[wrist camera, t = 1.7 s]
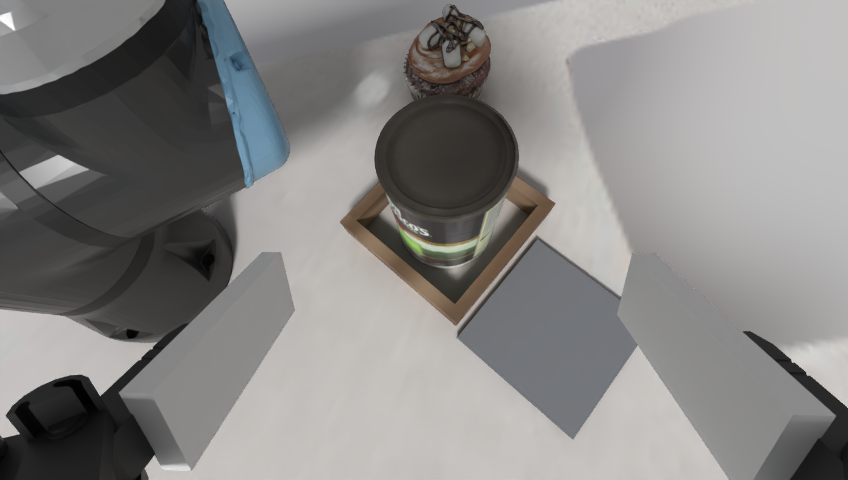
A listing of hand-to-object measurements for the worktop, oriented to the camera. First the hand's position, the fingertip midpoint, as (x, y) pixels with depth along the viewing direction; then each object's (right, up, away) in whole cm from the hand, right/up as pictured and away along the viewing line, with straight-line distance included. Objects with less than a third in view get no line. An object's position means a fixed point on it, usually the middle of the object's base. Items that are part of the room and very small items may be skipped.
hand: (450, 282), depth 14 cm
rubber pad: (+11, -7, +21) cm, 25 cm away
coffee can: (+1, +3, +25) cm, 25 cm away
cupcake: (+2, +19, +30) cm, 36 cm away
